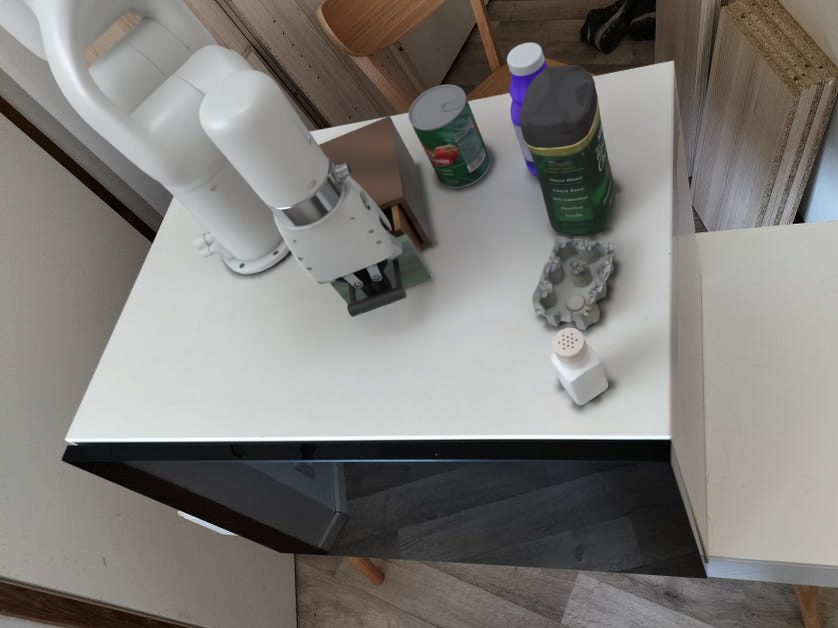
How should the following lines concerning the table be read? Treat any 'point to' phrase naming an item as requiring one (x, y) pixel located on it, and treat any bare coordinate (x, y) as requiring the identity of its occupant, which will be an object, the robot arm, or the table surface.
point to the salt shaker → (577, 366)
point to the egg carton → (574, 281)
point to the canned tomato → (450, 136)
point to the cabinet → (383, 169)
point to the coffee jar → (569, 149)
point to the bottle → (523, 86)
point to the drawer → (391, 268)
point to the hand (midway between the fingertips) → (383, 294)
